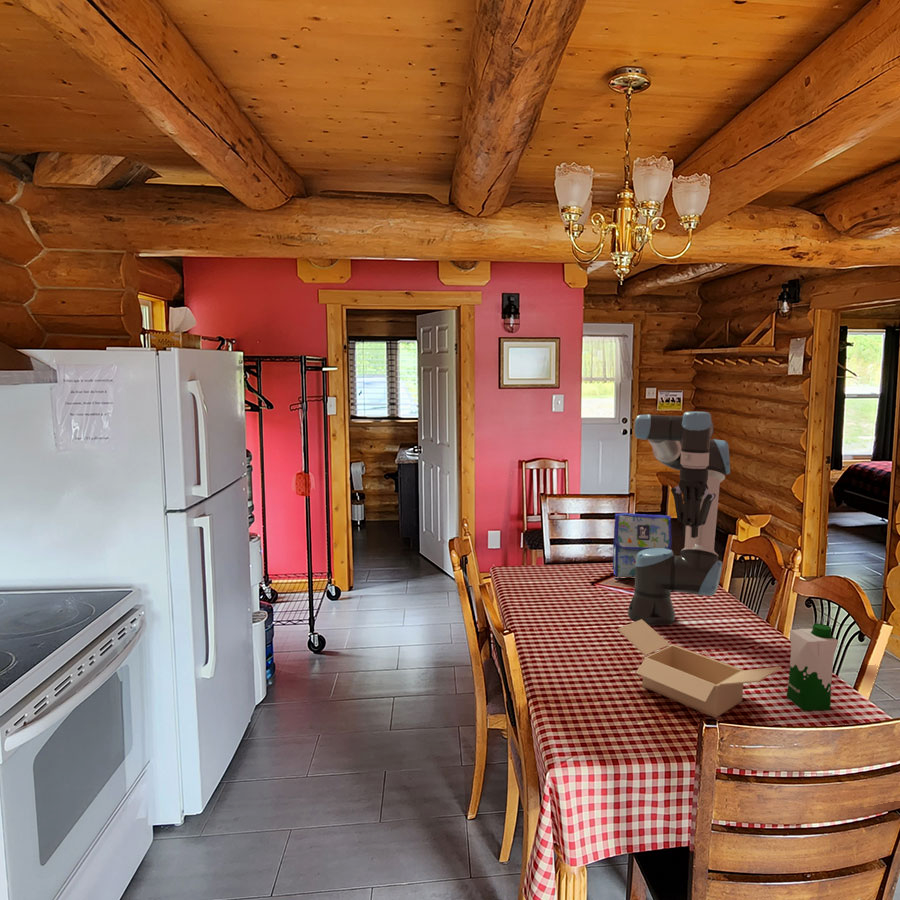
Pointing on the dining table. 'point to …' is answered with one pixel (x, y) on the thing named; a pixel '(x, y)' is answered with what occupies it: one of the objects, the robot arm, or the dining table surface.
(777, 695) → the dining table surface
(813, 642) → the milk carton
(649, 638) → the flap
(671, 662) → the carton
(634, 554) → the lunch bag
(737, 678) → the flap
